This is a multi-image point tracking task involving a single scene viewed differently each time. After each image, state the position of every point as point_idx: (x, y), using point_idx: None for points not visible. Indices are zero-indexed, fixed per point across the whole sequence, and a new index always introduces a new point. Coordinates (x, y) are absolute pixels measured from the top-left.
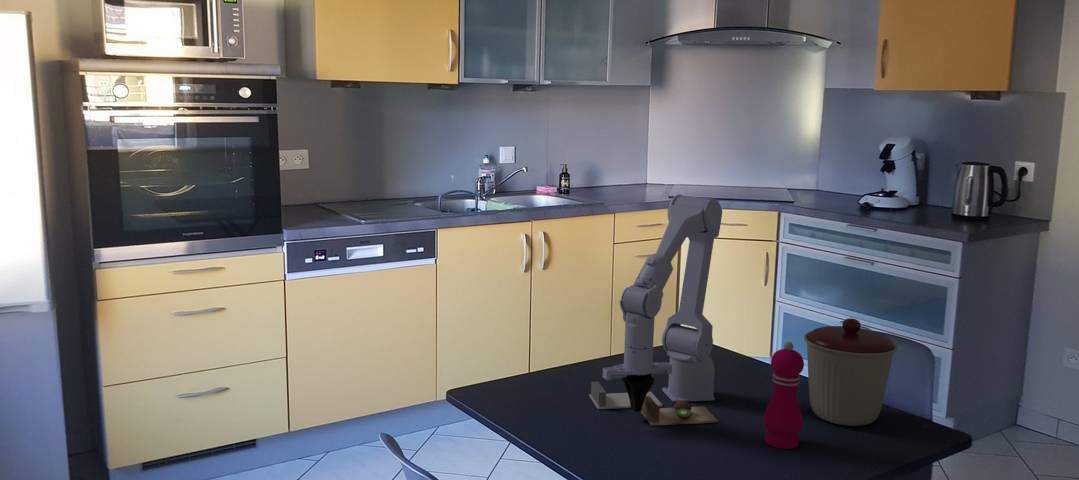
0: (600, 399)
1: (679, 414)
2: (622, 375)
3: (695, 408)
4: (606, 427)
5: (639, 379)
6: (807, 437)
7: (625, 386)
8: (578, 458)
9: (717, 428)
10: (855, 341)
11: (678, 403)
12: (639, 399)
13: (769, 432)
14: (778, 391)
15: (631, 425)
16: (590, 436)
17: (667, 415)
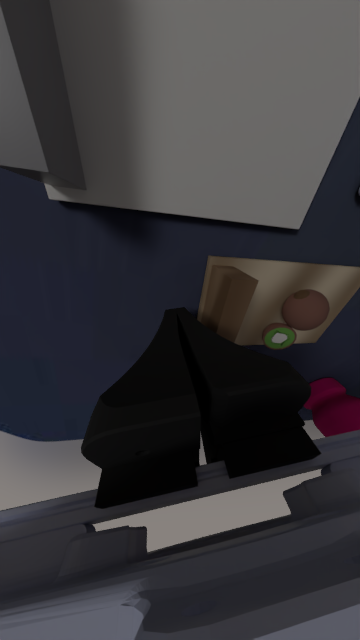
0: (37, 179)
1: (266, 338)
2: (77, 525)
3: (344, 279)
4: (89, 342)
5: (207, 442)
6: (353, 378)
7: (140, 358)
8: (42, 425)
9: (290, 356)
10: None
11: (302, 319)
12: (185, 360)
13: (314, 402)
14: None
15: (152, 337)
16: (52, 375)
17: (251, 312)
